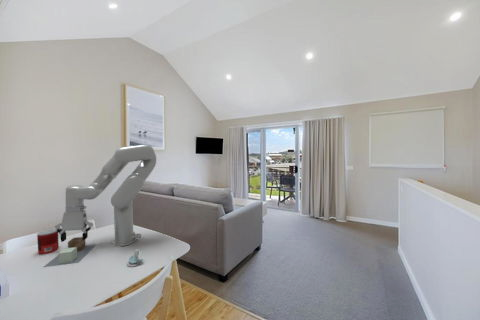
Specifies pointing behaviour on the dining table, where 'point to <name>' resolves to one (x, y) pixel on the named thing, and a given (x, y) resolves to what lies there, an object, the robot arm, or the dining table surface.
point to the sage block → (67, 255)
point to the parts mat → (80, 256)
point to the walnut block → (77, 243)
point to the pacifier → (134, 259)
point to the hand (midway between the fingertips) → (74, 240)
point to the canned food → (47, 241)
